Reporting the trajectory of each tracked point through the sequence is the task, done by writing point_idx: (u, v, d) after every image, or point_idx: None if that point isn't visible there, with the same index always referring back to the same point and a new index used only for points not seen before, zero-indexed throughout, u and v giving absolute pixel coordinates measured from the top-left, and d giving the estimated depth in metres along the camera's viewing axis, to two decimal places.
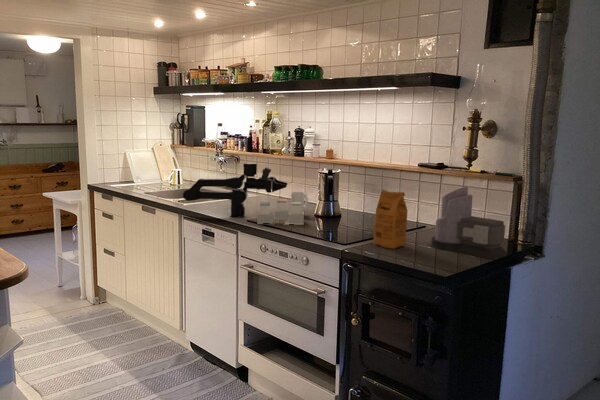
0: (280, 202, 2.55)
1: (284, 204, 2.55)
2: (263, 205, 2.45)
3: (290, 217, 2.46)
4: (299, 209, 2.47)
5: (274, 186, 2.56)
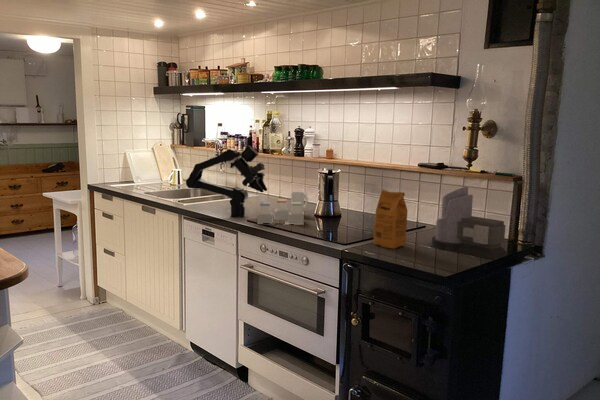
0: (280, 202, 2.55)
1: (284, 204, 2.55)
2: (263, 205, 2.45)
3: (290, 217, 2.46)
4: (299, 209, 2.47)
5: (253, 183, 2.56)
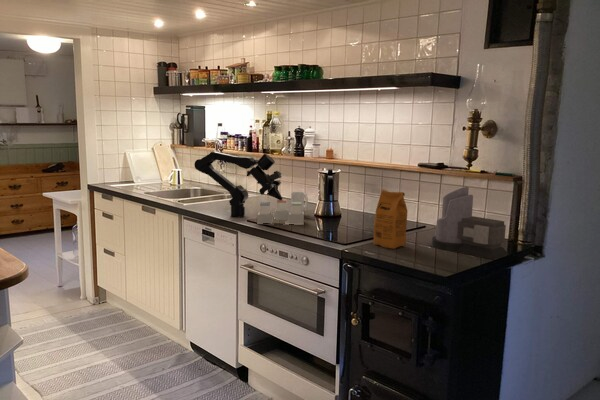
0: (280, 202, 2.55)
1: (284, 204, 2.55)
2: (263, 205, 2.45)
3: (290, 217, 2.46)
4: (299, 209, 2.47)
5: (272, 191, 2.57)
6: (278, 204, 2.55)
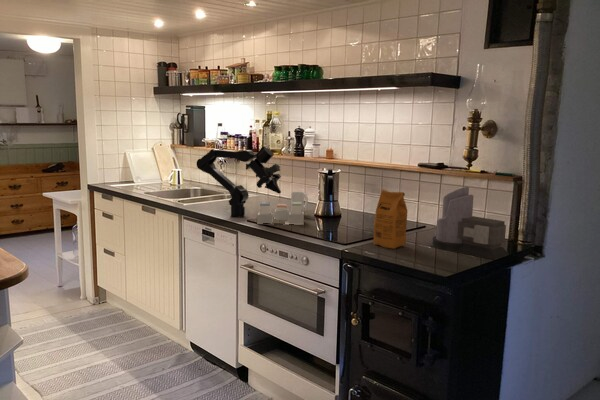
0: (280, 207, 2.56)
1: (284, 209, 2.56)
2: (263, 205, 2.45)
3: (290, 217, 2.46)
4: (299, 209, 2.47)
5: (270, 184, 2.54)
6: (278, 209, 2.56)
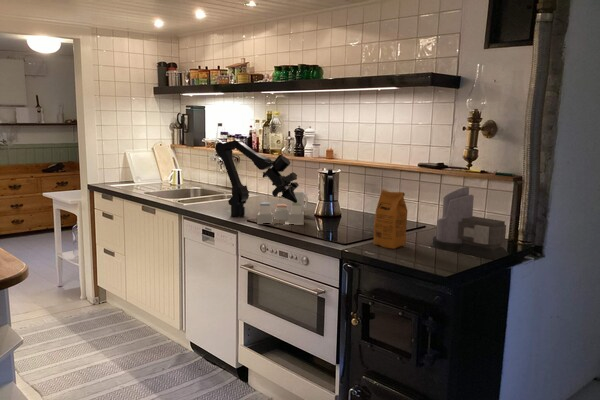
0: (280, 207, 2.56)
1: (284, 209, 2.56)
2: (263, 205, 2.45)
3: (290, 217, 2.46)
4: (299, 209, 2.47)
5: (287, 193, 2.49)
6: (278, 209, 2.56)
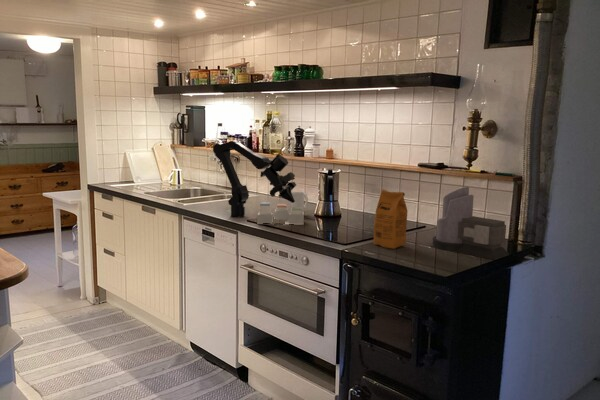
0: (280, 207, 2.56)
1: (284, 209, 2.56)
2: (263, 205, 2.45)
3: (290, 217, 2.46)
4: None
5: (284, 193, 2.50)
6: (278, 209, 2.56)
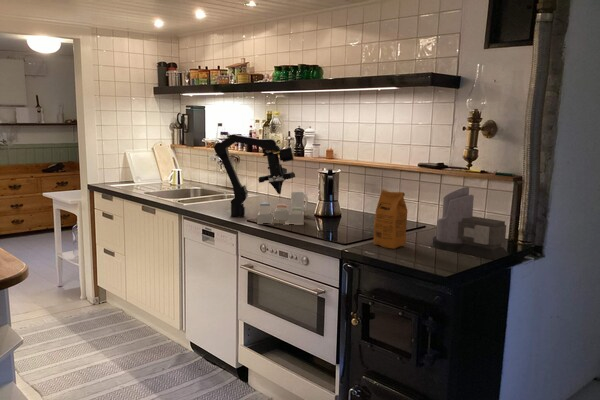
0: (280, 207, 2.56)
1: (284, 209, 2.56)
2: (263, 205, 2.45)
3: (290, 217, 2.46)
4: None
5: (279, 182, 2.61)
6: (278, 209, 2.56)
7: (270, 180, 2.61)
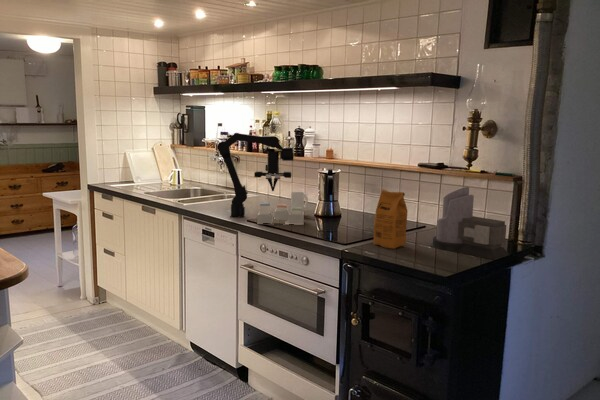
0: (280, 207, 2.56)
1: (284, 209, 2.56)
2: (263, 205, 2.45)
3: (290, 217, 2.46)
4: None
5: None
6: (278, 209, 2.56)
7: (267, 176, 2.62)
